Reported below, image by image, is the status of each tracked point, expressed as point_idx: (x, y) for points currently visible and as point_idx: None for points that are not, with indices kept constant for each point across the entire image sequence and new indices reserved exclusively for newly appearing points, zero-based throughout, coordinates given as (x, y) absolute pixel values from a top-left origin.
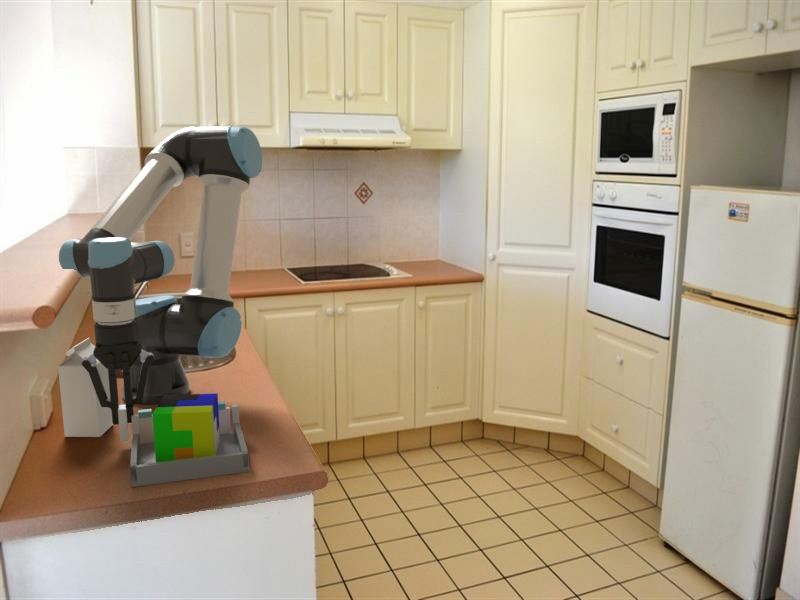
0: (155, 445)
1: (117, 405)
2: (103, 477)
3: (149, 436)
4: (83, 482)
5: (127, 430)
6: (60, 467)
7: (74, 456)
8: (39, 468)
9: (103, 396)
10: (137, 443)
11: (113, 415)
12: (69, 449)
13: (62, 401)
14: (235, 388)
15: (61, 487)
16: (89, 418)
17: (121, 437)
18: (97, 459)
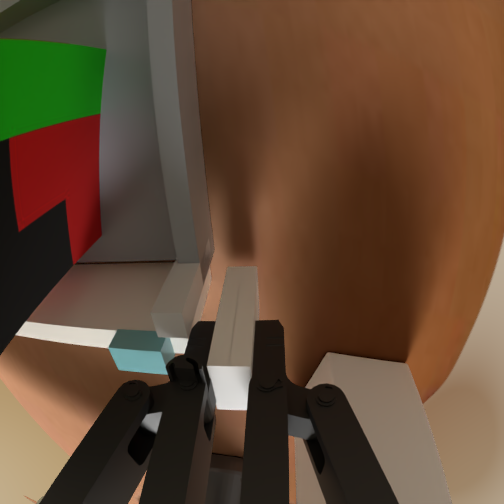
0: (57, 43)
1: (249, 388)
2: (296, 35)
3: (157, 281)
4: (360, 20)
5: (222, 291)
6: (439, 172)
7: (400, 244)
8: (483, 187)
9: (330, 441)
10: (161, 160)
11: (277, 352)
12: (408, 296)
13: (433, 443)
14: None
15: (420, 16)
16: (359, 399)
17: (250, 275)
18: (333, 199)
